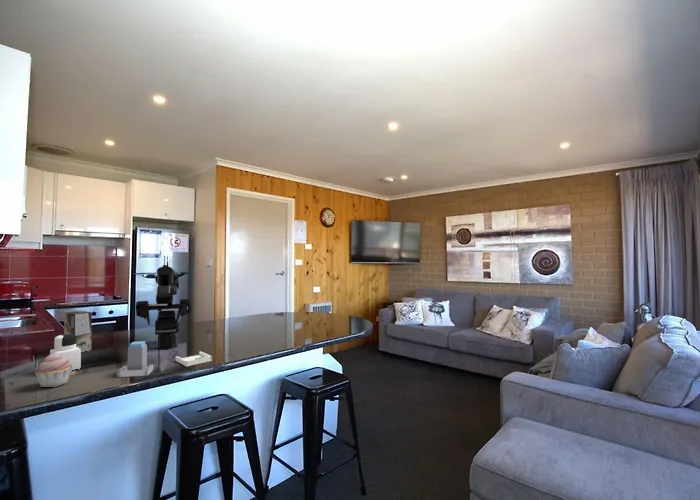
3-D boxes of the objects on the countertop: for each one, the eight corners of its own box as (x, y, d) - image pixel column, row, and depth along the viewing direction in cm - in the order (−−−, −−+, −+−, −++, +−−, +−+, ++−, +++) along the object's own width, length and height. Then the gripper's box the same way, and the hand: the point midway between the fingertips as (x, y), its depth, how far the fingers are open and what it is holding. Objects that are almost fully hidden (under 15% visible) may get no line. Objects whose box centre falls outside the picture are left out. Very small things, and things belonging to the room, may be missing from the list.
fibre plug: (132, 370, 124) (133, 341, 124) (146, 369, 125) (147, 340, 125) (127, 374, 120) (127, 344, 120) (142, 373, 121) (142, 344, 121)
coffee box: (92, 350, 149) (92, 311, 150) (74, 354, 144) (75, 314, 144) (80, 347, 154) (80, 310, 154) (62, 351, 148) (63, 312, 148)
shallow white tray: (124, 371, 123) (124, 365, 123) (153, 369, 125) (153, 364, 125) (116, 377, 117) (116, 371, 117) (147, 375, 119) (147, 369, 119)
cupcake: (81, 379, 115) (81, 348, 115) (55, 390, 106) (56, 356, 106) (53, 379, 115) (53, 347, 115) (25, 390, 106) (25, 356, 106)
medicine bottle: (74, 365, 130) (75, 331, 130) (80, 369, 125) (81, 334, 125) (49, 370, 124) (50, 335, 124) (54, 374, 120) (55, 338, 120)
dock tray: (175, 360, 136) (175, 355, 136) (200, 355, 143) (200, 350, 143) (186, 366, 129) (186, 360, 129) (211, 360, 136) (212, 355, 136)
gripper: (137, 279, 136) (131, 308, 124) (191, 278, 143) (191, 305, 132) (138, 301, 142) (134, 331, 130) (190, 299, 149) (190, 327, 138)
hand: (163, 323), depth 132 cm, fingers open, 9 cm apart
